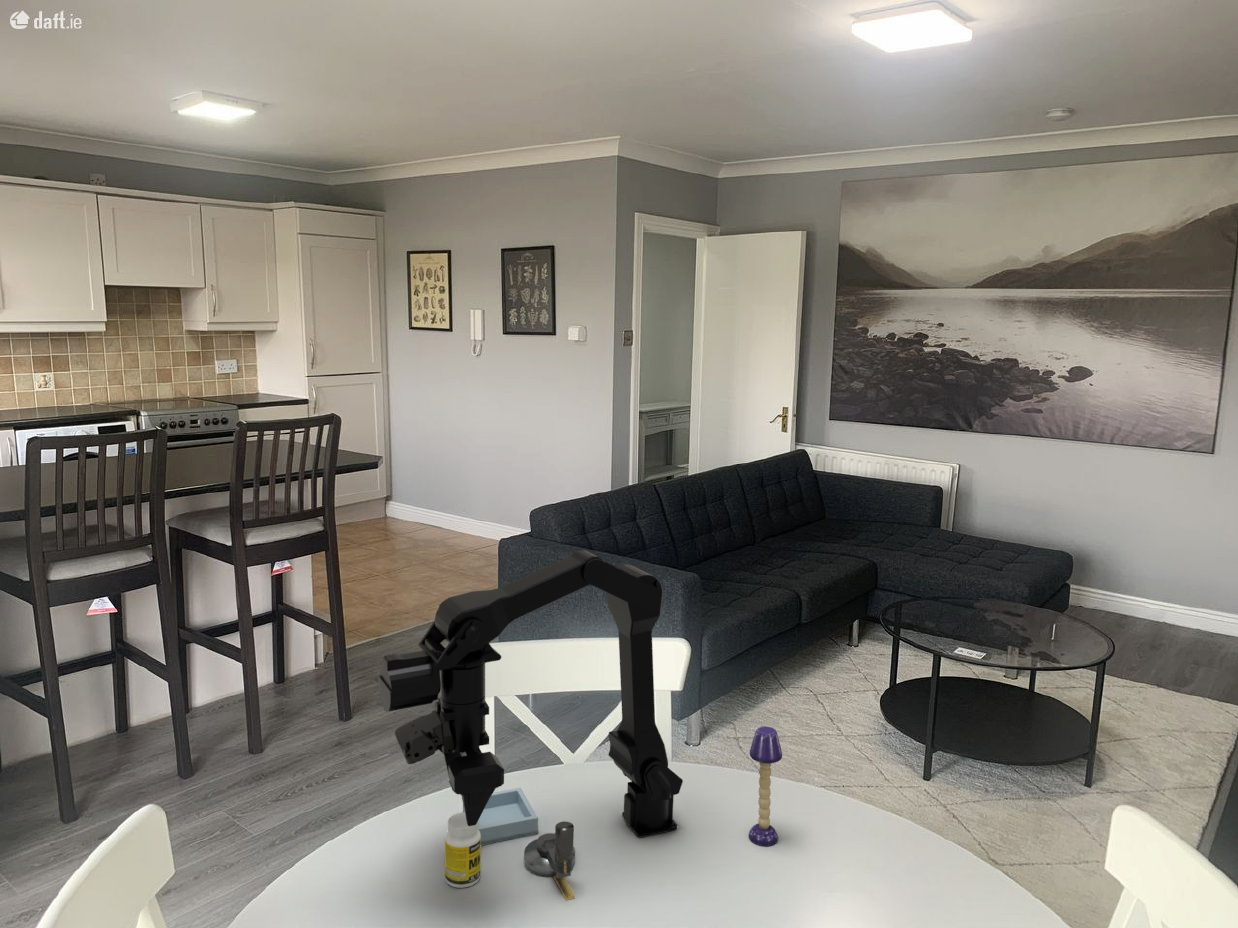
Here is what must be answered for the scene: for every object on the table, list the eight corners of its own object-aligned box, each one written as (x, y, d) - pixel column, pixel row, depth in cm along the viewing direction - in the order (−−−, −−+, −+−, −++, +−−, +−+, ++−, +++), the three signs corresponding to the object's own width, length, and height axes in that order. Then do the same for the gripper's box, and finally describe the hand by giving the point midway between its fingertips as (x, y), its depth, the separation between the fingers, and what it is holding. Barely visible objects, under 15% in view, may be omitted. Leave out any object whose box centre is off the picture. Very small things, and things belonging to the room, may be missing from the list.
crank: (533, 843, 125) (534, 796, 124) (558, 839, 127) (559, 792, 126) (553, 884, 117) (553, 833, 116) (579, 878, 118) (580, 828, 117)
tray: (520, 802, 139) (520, 787, 139) (537, 833, 131) (538, 817, 131) (462, 813, 136) (462, 797, 136) (477, 845, 128) (477, 829, 127)
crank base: (565, 842, 129) (565, 832, 129) (595, 893, 118) (596, 882, 118) (518, 852, 127) (518, 842, 126) (544, 905, 115) (544, 894, 115)
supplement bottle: (473, 891, 118) (473, 832, 116) (439, 885, 119) (438, 827, 117) (485, 869, 122) (486, 812, 121) (453, 864, 123) (452, 808, 122)
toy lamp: (741, 841, 131) (747, 733, 128) (749, 824, 135) (755, 720, 132) (774, 849, 129) (780, 740, 126) (781, 832, 133) (787, 726, 130)
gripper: (388, 676, 122) (390, 783, 124) (412, 736, 105) (414, 859, 107) (469, 665, 126) (470, 769, 129) (505, 722, 109) (505, 840, 112)
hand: (463, 806), depth 119 cm, fingers open, 9 cm apart
